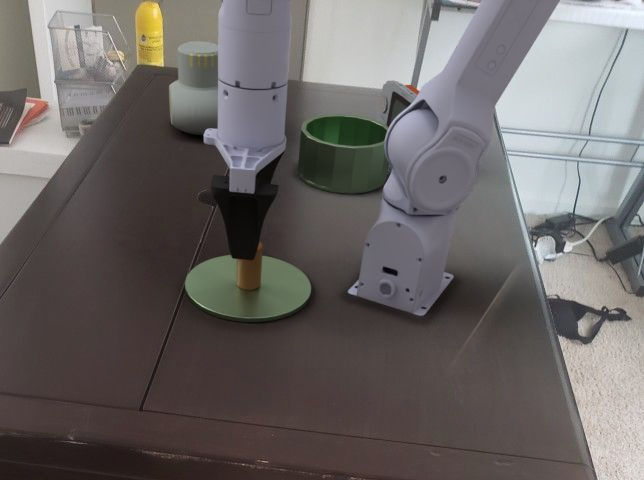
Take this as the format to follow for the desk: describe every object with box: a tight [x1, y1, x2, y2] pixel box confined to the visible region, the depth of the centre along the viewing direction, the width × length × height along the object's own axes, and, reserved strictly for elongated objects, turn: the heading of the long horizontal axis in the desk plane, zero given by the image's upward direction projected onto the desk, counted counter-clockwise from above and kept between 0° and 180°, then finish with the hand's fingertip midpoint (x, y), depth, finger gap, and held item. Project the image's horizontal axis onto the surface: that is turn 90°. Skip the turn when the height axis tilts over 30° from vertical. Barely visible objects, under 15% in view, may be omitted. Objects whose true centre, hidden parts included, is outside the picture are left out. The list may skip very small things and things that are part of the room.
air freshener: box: [168, 40, 218, 136], centre depth 100 cm, size 11×8×10 cm
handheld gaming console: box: [375, 79, 420, 127], centre depth 97 cm, size 14×3×8 cm, turn 18°
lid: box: [184, 241, 312, 323], centre depth 71 cm, size 12×12×5 cm
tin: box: [297, 113, 390, 195], centre depth 92 cm, size 11×11×5 cm
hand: (247, 238), depth 70 cm, fingers open, 7 cm apart
